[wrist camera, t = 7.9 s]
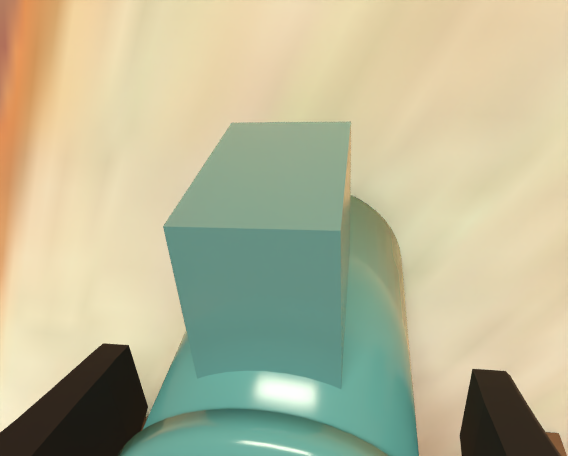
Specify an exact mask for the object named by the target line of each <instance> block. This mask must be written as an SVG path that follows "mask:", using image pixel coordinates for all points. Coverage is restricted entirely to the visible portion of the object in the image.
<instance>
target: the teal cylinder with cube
mask: <svg viewBox="0 0 568 456" xmlns="http://www.w3.org/2000/svg"><path fill="white" fill-rule="evenodd" d="M350 175H351V122H275V123H231V125H230V126H229V128H228V129H227V131H226V132H225V134H224V135H223V137H222V138H221V140H220V141H219V143H218V144H217V146H216V147H215V149H214V150H213V152H212V153H211V155H210V156H209V158H208V159H207V161H206V163H205V164H204V166H203V167H202V169H201V170H200V172H199V173H198V175H197V176H196V178H195V179H194V181H193V182H192V184H191V185H190V187H189V188H188V190H187V191H186V193H185V194H184V196H183V197H182V199H181V200H180V202H179V203H178V205H177V206H176V208H175V209H174V211H173V212H172V214H171V215H170V217H169V218H168V220H167V221H166V223H165V225H164V226H163V228H164V232H165V237H166V241H167V246H168V250H169V255H170V259H171V264H172V268H173V273H174V277H175V282H176V286H177V290H178V295H179V299H180V304H181V308H182V313H183V317H184V322H185V326H186V332H185V335H184V337H183V339H182V341H181V344H180V346H179V348H178V350H177V353H176V355H175V357H174V360H173V362H172V364H171V366H170V369H169V371H168V373H167V375H166V378H165V380H164V382H163V384H162V387H161V389H160V391H159V394H158V396H157V398H156V400H155V403H154V405H153V407H152V409H151V412H150V414H149V416H148V418H147V421H146V423H145V425H144V428H143V430H142V431H140V432H138V433H137V434H136V435H134V436H133V437H132V438H131V439H130V440H129V441H128V442H127V443H126V444H125V445H124V447H123V448H122V450H121V451H120V452H119V454H118V456H419V452H418V441H417V430H416V419H415V407H414V396H413V385H412V374H411V362H410V351H409V340H408V329H407V317H406V306H405V295H404V284H403V272H402V261H401V254H400V248H399V245H398V242H397V239H396V237H395V235H394V233H393V231H392V229H391V228H390V227H389V225H388V224H387V222H386V221H385V220H384V219H383V218H382V217H381V216H380V215H379V214H378V213H377V212H376V211H375V210H374V209H373V208H371V207H370V206H369V205H368V204H366V203H364V202H363V201H361V200H359V199H358V198H356V197H353V196H351V195H350Z"/></svg>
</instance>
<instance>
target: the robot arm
mask: <svg viewBox="0 0 568 456" xmlns="http://www.w3.org/2000/svg"><path fill="white" fill-rule="evenodd" d="M147 409H148V406H147V402H146V399H145V396H144V393H143V390H142V386H141V383H140V380H139V377H138V373H137V370H136V367H135V364H134V361H133V357H132V354H131V351H130V348H129V345H117V344H102V345H101V346H100V347H98V348H97V349H96V350H95V351H94V352H93V353H91V354H90V355H89V356H88V357H87V358H86V359H85V360H83V361H82V362H81V363H80V364H79V365H78V366H77V367H76V368H75V369H73V370H72V371H71V372H70V373H69V374H68V375H67V376H66V377H64V378H63V379H62V380H61V381H60V382H59V383H58V384H57V385H55V386H54V387H53V388H52V389H51V390H50V391H49V392H48V393H46V394H45V395H44V396H43V397H42V398H41V399H39V400H38V401H37V402H36V403H35V404H34V405H33V406H31V407H30V408H29V409H28V410H27V411H26V412H24V413H23V414H22V415H21V416H20V417H19V418H18V419H16V420H15V421H14V422H13V423H12V424H10V425H9V426H8V427H7V428H5V429H4V430H3V431H2V432H0V456H118V454H119V452H120V451H121V450H122V448H123V447H124V445H125V444H126V443H127V442H128V441H129V440H130V439H131V438H132V437H133V436H134V435H136V434H137V433H138V432H140V431H141V429H142V425H143V422H144V419H145V416H146V412H147ZM460 442H461V452H462V456H561V455H560V453H559V452H558V450H557V449H556V447H555V446H554V444H553V443H552V442H551V440H550V439H549V437H548V436H547V434H546V432H545V431H544V429H543V428H542V426H541V425H540V423H539V422H538V420H537V419H536V417H535V416H534V414H533V412H532V411H531V409H530V408H529V406H528V405H527V403H526V401H525V400H524V398H523V396H522V395H521V393H520V391H519V390H518V388H517V386H516V385H515V383H514V381H513V380H512V378H511V376H510V375H509V374H508V373H507V372H506V371H495V370H481V369H472V374H471V380H470V385H469V390H468V395H467V400H466V406H465V411H464V416H463V421H462V427H461V432H460Z"/></svg>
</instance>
